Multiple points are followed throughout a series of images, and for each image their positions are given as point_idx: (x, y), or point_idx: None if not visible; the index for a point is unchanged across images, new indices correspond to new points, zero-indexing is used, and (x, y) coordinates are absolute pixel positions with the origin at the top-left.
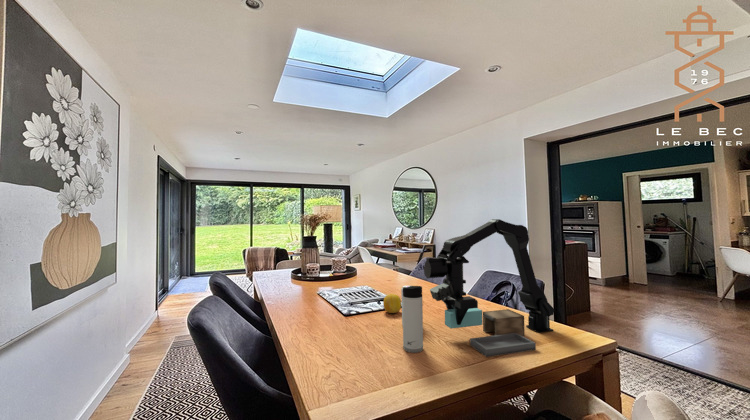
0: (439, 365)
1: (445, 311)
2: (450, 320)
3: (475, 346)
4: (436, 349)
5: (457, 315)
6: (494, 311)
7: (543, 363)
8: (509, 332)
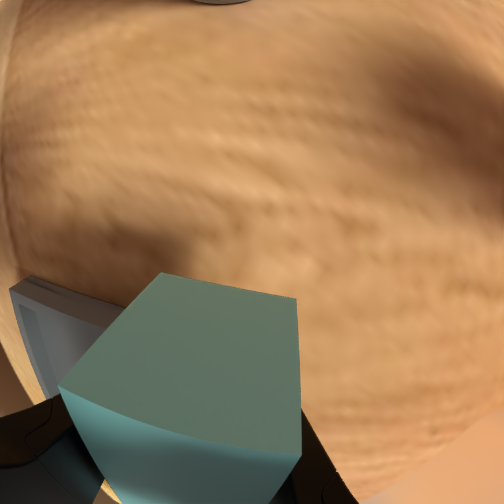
0: (37, 39)
1: (265, 431)
2: (120, 319)
3: (82, 303)
4: (153, 75)
5: (45, 402)
6: None
7: (15, 371)
8: None
